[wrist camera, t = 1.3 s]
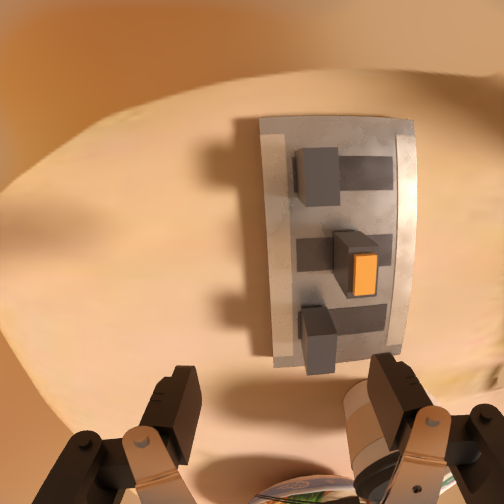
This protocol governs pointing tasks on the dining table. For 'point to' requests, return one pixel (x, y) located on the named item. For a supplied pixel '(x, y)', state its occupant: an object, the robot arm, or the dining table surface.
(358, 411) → the coffee cup
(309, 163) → the block
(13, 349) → the dining table surface
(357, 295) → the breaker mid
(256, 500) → the ramen bowl
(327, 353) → the block
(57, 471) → the robot arm
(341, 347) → the panel
